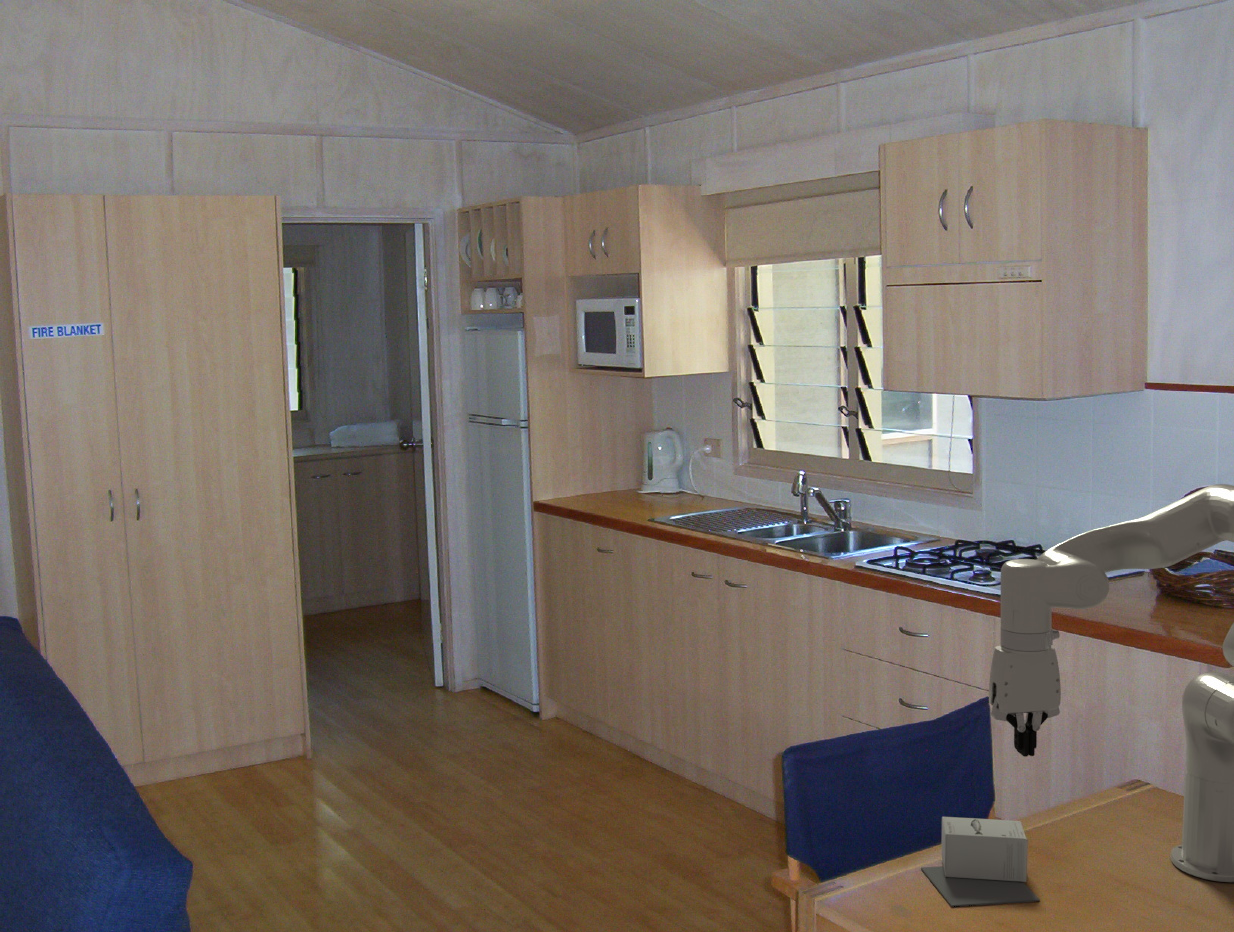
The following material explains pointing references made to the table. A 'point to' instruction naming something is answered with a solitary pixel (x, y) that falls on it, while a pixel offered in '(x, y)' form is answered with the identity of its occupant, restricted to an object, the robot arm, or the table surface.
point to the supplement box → (984, 849)
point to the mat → (978, 889)
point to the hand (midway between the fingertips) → (1025, 753)
